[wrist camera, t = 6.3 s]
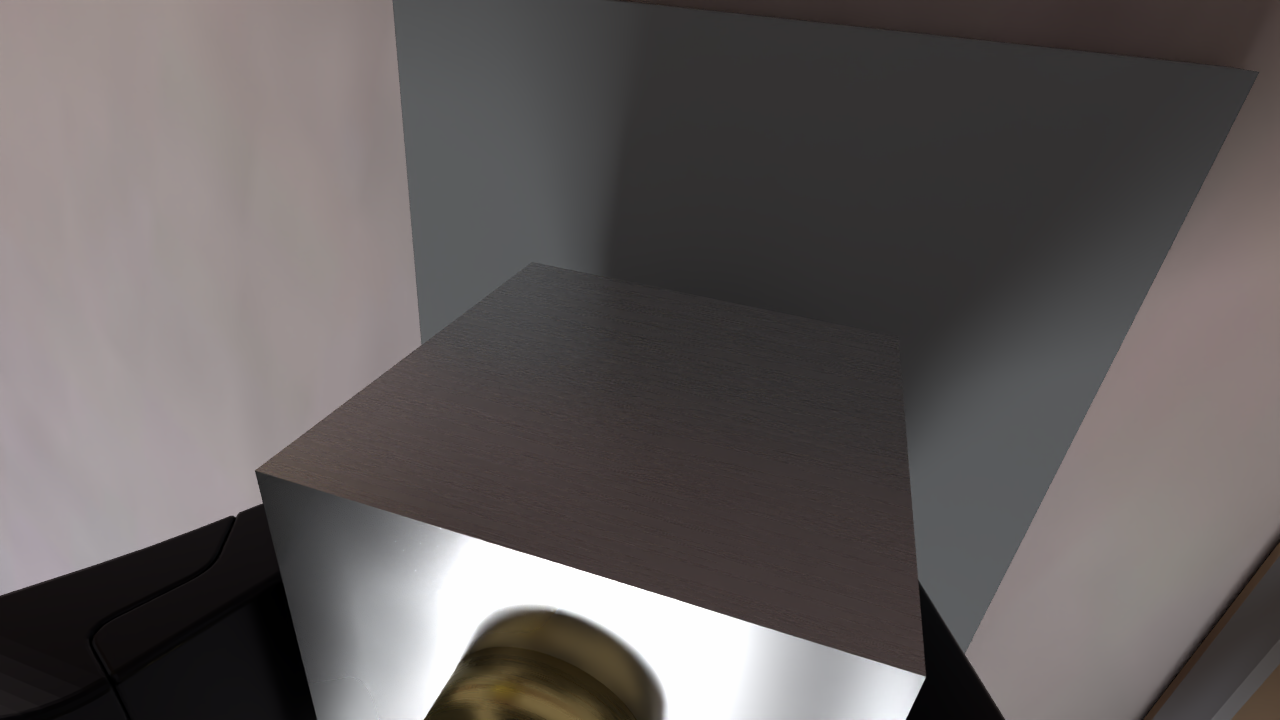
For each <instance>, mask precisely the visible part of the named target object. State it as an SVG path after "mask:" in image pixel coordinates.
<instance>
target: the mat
mask: <svg viewBox="0 0 1280 720" xmlns="http://www.w3.org/2000/svg"><path fill="white" fill-rule="evenodd" d="M393 11H394V23H395V34H396V46H397V58H398V70H399V82H400V94H401V106H402V118H403V130H404V142H405V153H406V165H407V177H408V189H409V201H410V213H411V225H412V237H413V249H414V261H415V272H416V284H417V296H418V308H419V320H420V332H421V344H424V343H425V342H426V341H428V340H429V339H430V338H432V337H433V336H434V335H436V334H437V333H438V332H440V331H441V330H442V329H444V328H445V327H446V326H448V325H449V324H450V323H452V322H453V321H454V320H456V319H457V318H458V317H460V316H461V315H462V314H464V313H465V312H466V311H467V310H469V309H470V308H471V307H473V306H474V305H475V304H477V303H478V302H479V301H481V300H482V299H483V298H485V297H486V296H487V295H489V294H490V293H491V292H493V291H494V290H495V289H497V288H498V287H499V286H501V285H502V284H503V283H505V282H506V281H507V280H509V279H510V278H511V277H513V276H514V275H515V274H517V273H518V272H519V271H521V270H522V269H523V268H525V267H526V266H527V265H529V264H530V263H531V262H534V263H539V264H544V265H549V266H554V267H559V268H564V269H569V270H573V271H578V272H583V273H588V274H593V275H598V276H603V277H608V278H613V279H618V280H622V281H627V282H632V283H637V284H642V285H647V286H652V287H657V288H662V289H667V290H671V291H676V292H681V293H686V294H691V295H696V296H701V297H706V298H711V299H716V300H720V301H725V302H730V303H735V304H740V305H745V306H750V307H755V308H760V309H765V310H769V311H774V312H779V313H784V314H789V315H794V316H799V317H804V318H809V319H814V320H818V321H823V322H828V323H833V324H838V325H843V326H848V327H853V328H858V329H863V330H867V331H872V332H877V333H882V334H887V335H892V336H897V337H898V338H899V350H900V362H901V375H902V387H903V399H904V412H905V424H906V436H907V448H908V461H909V473H910V485H911V498H912V510H913V522H914V534H915V547H916V559H917V571H918V580H919V581H920V583H921V585H922V586H923V588H924V590H925V591H926V593H927V594H928V596H929V598H930V599H931V601H932V602H933V604H934V606H935V607H936V609H937V611H938V612H939V614H940V615H941V617H942V619H943V620H944V622H945V623H946V625H947V627H948V628H949V630H950V631H951V633H952V635H953V636H954V638H955V640H956V641H957V643H958V644H959V646H960V648H961V649H962V651H963V652H964V654H965V652H966V650H967V648H968V646H969V644H970V642H971V640H972V638H973V636H974V634H975V632H976V630H977V628H978V626H979V624H980V622H981V620H982V618H983V616H984V614H985V612H986V611H987V609H988V607H989V605H990V603H991V601H992V599H993V597H994V595H995V593H996V591H997V589H998V587H999V585H1000V583H1001V581H1002V579H1003V577H1004V575H1005V573H1006V571H1007V569H1008V567H1009V565H1010V563H1011V561H1012V559H1013V557H1014V555H1015V553H1016V551H1017V549H1018V547H1019V545H1020V543H1021V541H1022V539H1023V537H1024V536H1025V534H1026V532H1027V530H1028V528H1029V526H1030V524H1031V522H1032V520H1033V518H1034V516H1035V514H1036V512H1037V510H1038V508H1039V506H1040V504H1041V502H1042V500H1043V498H1044V496H1045V494H1046V492H1047V490H1048V488H1049V486H1050V484H1051V482H1052V480H1053V478H1054V476H1055V474H1056V472H1057V470H1058V468H1059V466H1060V464H1061V462H1062V460H1063V459H1064V457H1065V455H1066V453H1067V451H1068V449H1069V447H1070V445H1071V443H1072V441H1073V439H1074V437H1075V435H1076V433H1077V431H1078V429H1079V427H1080V425H1081V423H1082V421H1083V419H1084V417H1085V415H1086V413H1087V411H1088V409H1089V407H1090V405H1091V403H1092V401H1093V399H1094V397H1095V395H1096V393H1097V391H1098V389H1099V387H1100V385H1101V384H1102V382H1103V380H1104V378H1105V376H1106V374H1107V372H1108V370H1109V368H1110V366H1111V364H1112V362H1113V360H1114V358H1115V356H1116V354H1117V352H1118V350H1119V348H1120V346H1121V344H1122V342H1123V340H1124V338H1125V336H1126V334H1127V332H1128V330H1129V328H1130V326H1131V324H1132V322H1133V320H1134V318H1135V316H1136V314H1137V312H1138V310H1139V308H1140V307H1141V305H1142V303H1143V301H1144V299H1145V297H1146V295H1147V293H1148V291H1149V289H1150V287H1151V285H1152V283H1153V281H1154V279H1155V277H1156V275H1157V273H1158V271H1159V269H1160V267H1161V265H1162V263H1163V261H1164V259H1165V257H1166V255H1167V253H1168V251H1169V249H1170V247H1171V245H1172V243H1173V241H1174V239H1175V237H1176V235H1177V233H1178V231H1179V230H1180V228H1181V226H1182V224H1183V222H1184V220H1185V218H1186V216H1187V214H1188V212H1189V210H1190V208H1191V206H1192V204H1193V202H1194V200H1195V198H1196V196H1197V194H1198V192H1199V190H1200V188H1201V186H1202V184H1203V182H1204V180H1205V178H1206V176H1207V174H1208V172H1209V170H1210V168H1211V166H1212V164H1213V162H1214V160H1215V158H1216V156H1217V155H1218V153H1219V151H1220V149H1221V147H1222V145H1223V143H1224V141H1225V139H1226V137H1227V135H1228V133H1229V131H1230V129H1231V127H1232V125H1233V123H1234V121H1235V119H1236V117H1237V115H1238V113H1239V111H1240V109H1241V107H1242V105H1243V103H1244V101H1245V99H1246V97H1247V95H1248V93H1249V91H1250V89H1251V87H1252V85H1253V83H1254V81H1255V79H1256V78H1257V76H1258V74H1259V72H1257V71H1251V70H1245V69H1239V68H1234V67H1225V66H1216V65H1207V64H1198V63H1189V62H1179V61H1170V60H1161V59H1152V58H1143V57H1134V56H1124V55H1115V54H1106V53H1097V52H1088V51H1078V50H1069V49H1060V48H1051V47H1042V46H1033V45H1023V44H1014V43H1005V42H996V41H987V40H978V39H968V38H959V37H950V36H941V35H932V34H922V33H913V32H904V31H895V30H886V29H877V28H867V27H858V26H849V25H840V24H831V23H822V22H812V21H803V20H794V19H785V18H776V17H766V16H757V15H748V14H739V13H730V12H721V11H711V10H702V9H693V8H684V7H675V6H666V5H656V4H647V3H638V2H629V1H620V0H393Z"/></svg>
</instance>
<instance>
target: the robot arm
mask: <svg viewBox="0 0 1280 720" xmlns="http://www.w3.org/2000/svg"><path fill="white" fill-rule="evenodd" d="M918 584H919V596H920V608H921V620H922V633H923V645H924V657H925V670H926V678H925V680H924V682H923V684H922V687H921V689H920V691H919V693H918V695H917V697H916V699H915V701H914V703H913V706H912V708H911V710H910V712H909V714H908V716H907V718H906V720H1005V719H1004V717H1003V715H1002V714H1001V712H1000V711H999V709H998V707H997V706H996V704H995V702H994V701H993V699H992V698H991V696H990V694H989V693H988V691H987V690H986V688H985V686H984V685H983V683H982V682H981V680H980V678H979V677H978V675H977V673H976V672H975V670H974V669H973V667H972V665H971V664H970V662H969V661H968V659H967V657H966V656H965V654H964V652H963V651H962V649H961V648H960V646H959V644H958V643H957V641H956V640H955V638H954V636H953V635H952V633H951V631H950V630H949V628H948V627H947V625H946V623H945V622H944V620H943V619H942V617H941V615H940V614H939V612H938V611H937V609H936V607H935V606H934V604H933V602H932V601H931V599H930V598H929V596H928V594H927V593H926V591H925V590H924V588H923V586H922V585H921V583H920V581H919V580H918ZM0 720H317V717H316V713H315V709H314V705H313V701H312V697H311V693H310V689H309V685H308V681H307V677H306V673H305V669H304V665H303V661H302V657H301V653H300V649H299V645H298V641H297V637H296V633H295V629H294V625H293V621H292V617H291V613H290V609H289V605H288V601H287V597H286V593H285V589H284V585H283V581H282V577H281V573H280V569H279V565H278V561H277V557H276V553H275V549H274V545H273V541H272V537H271V533H270V529H269V525H268V521H267V516H266V512H265V508H264V504H260V505H257V506H255V507H252V508H250V509H247V510H245V511H242V512H240V513H238V515H237V516H236V517H234V516H229V517H226V518H224V519H221V520H219V521H216V522H214V523H211V524H208V525H206V526H203V527H201V528H198V529H195V530H193V531H190V532H187V533H185V534H182V535H179V536H177V537H174V538H171V539H169V540H166V541H163V542H161V543H158V544H155V545H152V546H150V547H147V548H144V549H141V550H138V551H135V552H132V553H129V554H126V555H123V556H120V557H117V558H114V559H112V560H109V561H106V562H103V563H100V564H97V565H94V566H91V567H88V568H85V569H81V570H78V571H75V572H72V573H69V574H66V575H63V576H60V577H57V578H54V579H51V580H47V581H44V582H41V583H38V584H35V585H32V586H29V587H26V588H23V589H20V590H17V591H13V592H10V593H7V594H4V595H1V596H0Z"/></svg>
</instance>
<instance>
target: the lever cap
mask: <svg viewBox="0 0 1280 720" xmlns="http://www.w3.org/2000/svg"><path fill="white" fill-rule="evenodd" d="M255 472H256V476H257V480H258V484H259V488H260V492H261V496H262V500H263V504H264V508H265V512H266V516H267V521H268V525H269V529H270V533H271V537H272V541H273V545H274V549H275V553H276V557H277V561H278V565H279V569H280V573H281V577H282V581H283V585H284V589H285V593H286V597H287V601H288V605H289V609H290V613H291V617H292V621H293V625H294V629H295V633H296V637H297V641H298V645H299V649H300V653H301V657H302V661H303V665H304V669H305V673H306V677H307V681H308V685H309V689H310V693H311V697H312V701H313V705H314V709H315V713H316V717H317V720H906V718H907V716H908V714H909V712H910V710H911V708H912V706H913V703H914V701H915V699H916V697H917V695H918V693H919V691H920V689H921V687H922V684H923V682H924V680H925V678H926V670H925V657H924V645H923V633H922V620H921V608H920V596H919V584H918V571H917V559H916V547H915V534H914V522H913V510H912V498H911V485H910V473H909V461H908V448H907V436H906V424H905V412H904V399H903V387H902V375H901V362H900V350H899V338H898V337H897V336H892V335H887V334H882V333H877V332H872V331H867V330H863V329H858V328H853V327H848V326H843V325H838V324H833V323H828V322H823V321H818V320H814V319H809V318H804V317H799V316H794V315H789V314H784V313H779V312H774V311H769V310H765V309H760V308H755V307H750V306H745V305H740V304H735V303H730V302H725V301H720V300H716V299H711V298H706V297H701V296H696V295H691V294H686V293H681V292H676V291H671V290H667V289H662V288H657V287H652V286H647V285H642V284H637V283H632V282H627V281H622V280H618V279H613V278H608V277H603V276H598V275H593V274H588V273H583V272H578V271H573V270H569V269H564V268H559V267H554V266H549V265H544V264H539V263H534V262H531V263H530V264H529V265H527V266H526V267H525V268H523V269H522V270H521V271H519V272H518V273H517V274H515V275H514V276H513V277H511V278H510V279H509V280H507V281H506V282H505V283H503V284H502V285H501V286H499V287H498V288H497V289H495V290H494V291H493V292H491V293H490V294H489V295H487V296H486V297H485V298H483V299H482V300H481V301H479V302H478V303H477V304H475V305H474V306H473V307H471V308H470V309H469V310H467V311H466V312H465V313H464V314H462V315H461V316H460V317H458V318H457V319H456V320H454V321H453V322H452V323H450V324H449V325H448V326H446V327H445V328H444V329H442V330H441V331H440V332H438V333H437V334H436V335H434V336H433V337H432V338H430V339H429V340H428V341H426V342H425V343H424V344H422V345H421V346H420V347H418V348H417V349H416V350H414V351H413V352H412V353H410V354H409V355H408V356H406V357H405V358H404V359H402V360H401V361H400V362H398V363H397V364H396V365H394V366H393V367H392V368H391V369H389V370H388V371H387V372H385V373H384V374H383V375H381V376H380V377H379V378H377V379H376V380H375V381H373V382H372V383H371V384H369V385H368V386H367V387H365V388H364V389H363V390H361V391H360V392H359V393H357V394H356V395H355V396H353V397H352V398H351V399H349V400H348V401H347V402H345V403H344V404H343V405H341V406H340V407H339V408H337V409H336V410H335V411H333V412H332V413H331V414H329V415H328V416H327V417H325V418H324V419H323V420H321V421H320V422H319V423H318V424H316V425H315V426H314V427H312V428H311V429H310V430H308V431H307V432H306V433H304V434H303V435H302V436H300V437H299V438H298V439H296V440H295V441H294V442H292V443H291V444H290V445H288V446H287V447H286V448H284V449H283V450H282V451H280V452H279V453H278V454H276V455H275V456H274V457H272V458H271V459H270V460H268V461H267V462H266V463H264V464H263V465H262V466H260V467H259V468H258V469H256V470H255Z"/></svg>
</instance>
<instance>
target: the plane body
mask: <svg viewBox="0 0 1280 720" xmlns="http://www.w3.org/2000/svg"><path fill="white" fill-rule="evenodd" d="M1143 720H1280V542H1279V544H1278V545H1277V546H1276V547H1275V549H1274V550H1273V551H1272V553H1271V554H1270V555H1269V557H1268V558H1267V559H1266V560H1265V562H1264V563H1263V564H1262V566H1261V567H1260V568H1259V570H1258V571H1257V572H1256V574H1255V575H1254V576H1253V577H1252V579H1251V580H1250V581H1249V583H1248V584H1247V585H1246V587H1245V588H1244V589H1243V590H1242V592H1241V593H1240V594H1239V596H1238V597H1237V598H1236V600H1235V601H1234V602H1233V603H1232V605H1231V606H1230V607H1229V609H1228V610H1227V611H1226V613H1225V614H1224V615H1223V616H1222V618H1221V619H1220V620H1219V622H1218V623H1217V624H1216V626H1215V627H1214V628H1213V629H1212V631H1211V632H1210V633H1209V635H1208V636H1207V637H1206V639H1205V640H1204V641H1203V642H1202V644H1201V645H1200V646H1199V648H1198V649H1197V650H1196V652H1195V653H1194V654H1193V655H1192V657H1191V658H1190V659H1189V661H1188V662H1187V663H1186V665H1185V666H1184V667H1183V669H1182V670H1181V671H1180V672H1179V674H1178V675H1177V676H1176V678H1175V679H1174V680H1173V682H1172V683H1171V684H1170V685H1169V687H1168V688H1167V689H1166V691H1165V692H1164V693H1163V695H1162V696H1161V697H1160V698H1159V700H1158V701H1157V702H1156V704H1155V705H1154V706H1153V708H1152V709H1151V710H1150V711H1149V713H1148V714H1147V715H1146V717H1145V718H1144V719H1143Z"/></svg>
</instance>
